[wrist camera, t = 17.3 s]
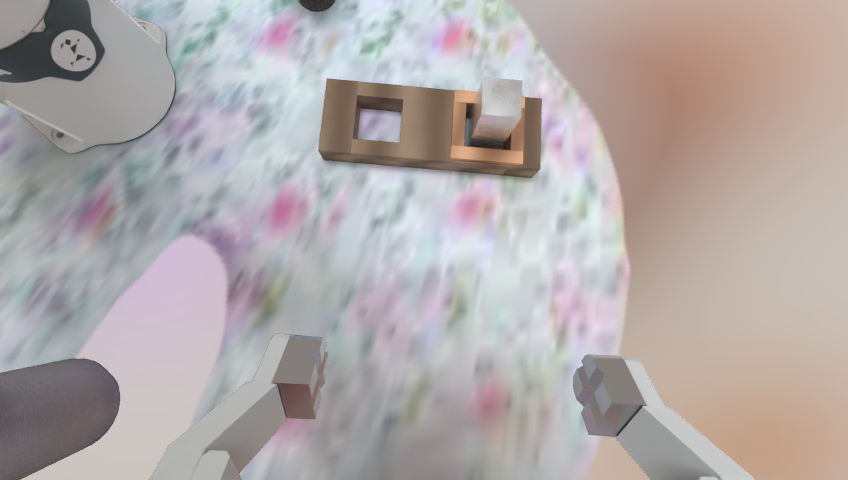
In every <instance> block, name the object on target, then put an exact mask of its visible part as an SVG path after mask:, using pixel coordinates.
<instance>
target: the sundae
mask: <svg viewBox="0 0 848 480" xmlns="http://www.w3.org/2000/svg"><path fill="white" fill-rule="evenodd" d="M299 1H300V3H301V4H302V5H303V6H304V7H305V8H307V9H309V10H312V11H322V10H325V9H327V8H329V7H330V6H331V5H332V4H333V2H334V1H335V0H299Z"/></svg>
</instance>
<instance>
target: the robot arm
mask: <svg viewBox="0 0 848 480" xmlns="http://www.w3.org/2000/svg"><path fill="white" fill-rule="evenodd" d="M174 91H175V77H174V72H173V69H172V66H171V64H170V62H169V59H168V57H167V54H166V35H165V32H164V31H163V30H162V29H161V28H160V27H158V26H157V25H156V24H153V23H150V22H147V21H144V20H141V19H138V18H135V17H132V16H130V15H129V14H128V13H127V12H125V11H124V10H123V9H122V8H121V7H120V6H119V5H118V4H117V3H116V2H115V1H113V0H0V103H2V104H4V105H7V106H8V105H9V106H11V107H13V108H15V109H16V110H17V111H18V112H19V113H20V114H21V115H23V116H24V117H25V118H26V119H27V120H28V121H29V122H30V123H32V124H33V125H34V126H35V127H36V128H37V129H38V130H39V131H40V132H42V133H43V134H44V135H45V136H46V137H47V138H48V139H49V140H51V141H52V142H53V143H54V144H55V145H56V146H57V147H59V148H60V149H62V150H64V151H66V152H68V153H76V152H79V151H82V150H85V149H87V148H89V147H91V146H94V145H98V144H112V143H120V142H124V141H128V140H131V139H134V138H136V137H138V136H140V135H142V134H144V133H146V132H147V131H149V130H150V129H151V128H153V127H154V126H155V125H156V124H157V123H158V122H159V121H160V120H161V119H162V118H163V116H164V115H165V113H166V112H167V110H168V109H169V107H170V105H171V102H172V99H173V96H174ZM63 135H64V136H63ZM62 136H63V137H62ZM326 346H327V342H326V338H324V337H313V336H301V335H290V334H276V333H275V335H274V336H273V337H272V338H271V340H270V343H269V345H268V347H267V349H266V352H265V354H264V356H263V358H262V361H261V363H260V365H259V367H258V370H257V372H256V374H255V377H254V379H253V381H252V382H246V383H245V384H244V385H243V386H241V387H240V388H239V389H238V390H236V391H235V392H234V393H233V394H231V395H230V396H229V397H228V398H227V399H225V400H224V401H223V402H222V403H220V404H219V405H218V406H217V407H215V408H214V409H213V410H212V411H211V412H209V413H208V414H207V415H206V416H204V417H203V418H202V419H201V420H199V421H198V422H197V423H196V424H195V425H193V426H192V427H191V428H190V429H188V430H187V431H186V432H185V433H183V434H182V435H181V436H180V437H179V438H177V439H176V440H175V441H174V442H172V443H171V444H170V445H169V446H168V447H167V449H166V451H165V452H164V454H163V456H162V458H161V459H160V461H159V463H158V465H157V467H156V468H155V470H154V472H153V474H152V475H151V477H150V479H149V480H242V479H241V477H240V475H239V473H240V472H241V471H242V470H243V468H244V467H245V466H246V465H247V464H248V463H249V462H250V461H251V460H252V458H253V457H254V456H255V455H256V454H257V453H258V452H259V451H260V449H261V448H262V447H263V446H264V445H265V444H266V443H267V442H268V440H269V439H270V438H271V437H272V436H273V435H274V434H275V433H276V431H277V430H278V429H279V428H280V427H281V426H282V425H283V424H284V422H285V421H286V420H287V419H286V418H297V419H316V415H317V411H318V408H319V404H320V400H321V393H320V388H321V387H322V386H323V385H324V384H325V381H326V377H327V371H328V353H327V352H326V351H325V350H326ZM582 364H583V366H582V367H580V368H578V369H577V370H576V372H575V374H574V376H573V389H574V393H575V396H576V399H577V400H578V401H579V402H580V403H581V404H582V405H583V406H584V407H583V410H582V413H581V414H582V417H583V420H584V422H585V425H586V428H587V431H588V434H589V435H598V436H610V437H617V438H616V439H617V441H618V442H619V443H620V444H621V445H622V446H623V448H624V449H625V450H626V451H627V452H628V453H629V455H630V456H631V457H632V458H633V459H634V460H635V462H636V463H637V464H638V465H639V466H640V467H641V469H642V470H643V471H644V472H645V473H646V475H647V476H648V477H649V478H650V479H651V480H755V479H754V478H753V477H752V476H751V475H749V474H748V473H747V472H746V471H745V470H743V469H742V468H741V467H740V466H739V465H737V464H736V463H735V462H734V461H733V460H732V459H730V458H729V457H728V456H727V455H726V454H724V453H723V452H722V451H721V450H720V449H719V448H717V447H716V446H715V445H714V444H713V443H711V442H710V441H709V440H708V439H707V438H705V437H704V436H703V435H702V434H701V433H699V432H698V431H697V430H696V429H695V428H694V427H692V426H691V425H690V424H689V423H688V422H686V421H685V420H684V419H683V418H682V417H680V416H679V415H678V414H677V413H676V412H674V411H673V410H672V409H671V408H668V407H665V406H664V405H663V402H662V401H661V399H660V397H659V395H658V393H657V392H656V390H655V388H654V386H653V384H652V382H651V381H650V379H649V377H648V375H647V373H646V372H645V370H644V368H643V366H642V364H641V362H640V361H639V360H638V359H637V358H635V357H621V356H612V355H592V354H588V355H586V356H584V358H583V359H582Z"/></svg>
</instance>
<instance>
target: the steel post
mask: <svg viewBox="0 0 848 480" xmlns="http://www.w3.org/2000/svg"><path fill="white" fill-rule="evenodd" d="M521 105H522V81H519V80H509V79H498V78H488V77H483V79H482V82H481V84H480V87H479V90H478V93H477V96H476V98H475V101H474V104H473V107H472V110H471V112H470V115H469V118H468V121H467V125H466V143H465V147H476V148H488V149H499V150H500V149H501V148H502V146H503V145H504V143H505V142H506V140H507V138H508V137H509V135H510V134H511V132H512V131H513V129H514V128H515V126H516V125H517V123H518V122H519V120H520V119H521Z"/></svg>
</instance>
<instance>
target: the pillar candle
mask: <svg viewBox="0 0 848 480" xmlns="http://www.w3.org/2000/svg"><path fill="white" fill-rule="evenodd" d="M119 403H120V392H119V386H118V383H117V381H116V380H115V378H114V377H113V376H112V375H111V374H110V373H109V372H108V371H107V370H106V369H105V368H104V367H103V366H101V365H100V364H99V363H97V362H95V361H92V360H88V359H68V360H62V361H57V362H52V363H47V364H43V365H37V366H32V367H27V368H22V369H17V370H12V371H8V372H3V373H0V480H20V479H22V478H24V477H26V476H28V475H30V474H32V473H35V472H37V471H39V470H41V469H43V468H45V467H47V466H49V465H51V464H53V463H55V462H57V461H59V460H62V459H64V458H66V457H68V456H69V455H72V454H74V453H76V452H78V451H80V450H82V449H84V448H86V447H88V446H90V445H92V444H93V443H95V442H96V441H98V440H99V439H100V438H101V437H102V436H103V435H104V434H105V433H106V432H107V431H108V430H109V428H110V427H111V425H112V424H113V422H114V420H115V418H116V416H117V413H118V409H119V405H120V404H119Z"/></svg>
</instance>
